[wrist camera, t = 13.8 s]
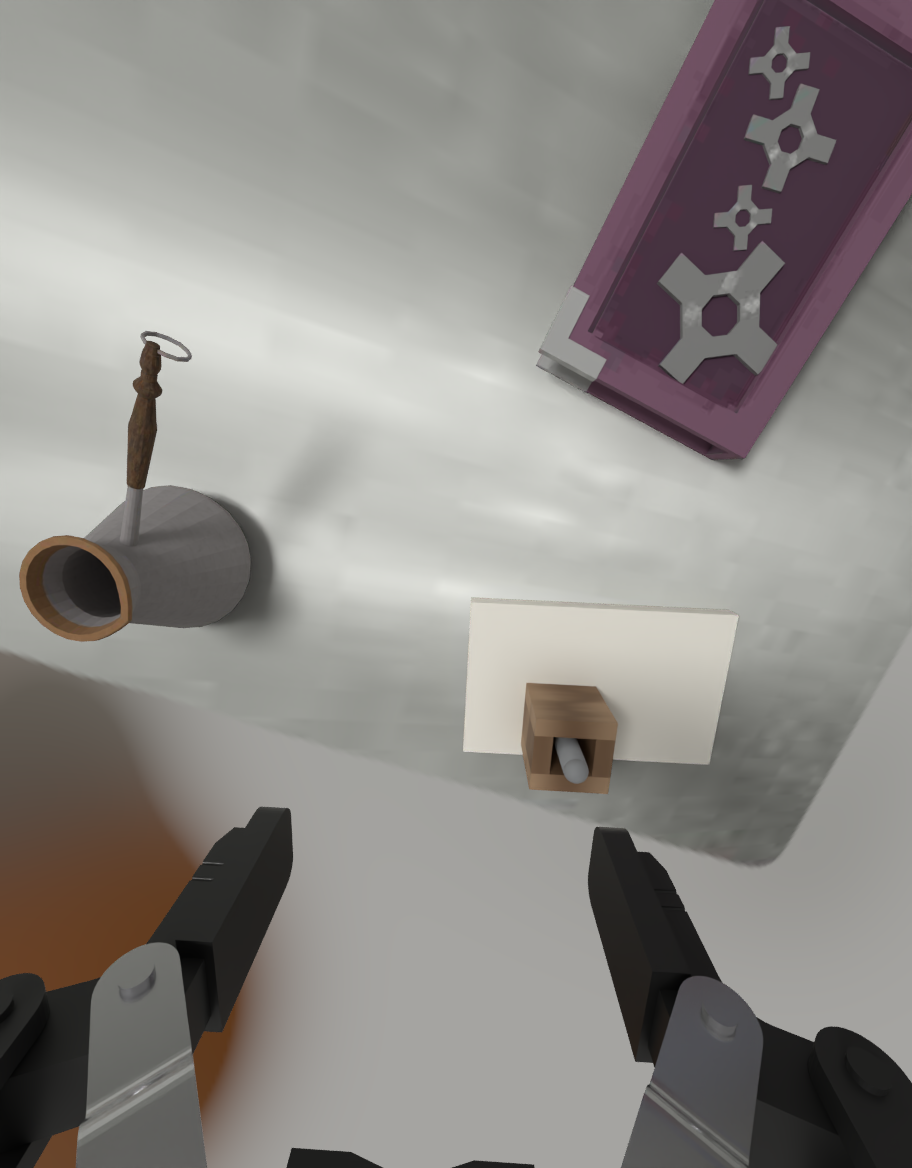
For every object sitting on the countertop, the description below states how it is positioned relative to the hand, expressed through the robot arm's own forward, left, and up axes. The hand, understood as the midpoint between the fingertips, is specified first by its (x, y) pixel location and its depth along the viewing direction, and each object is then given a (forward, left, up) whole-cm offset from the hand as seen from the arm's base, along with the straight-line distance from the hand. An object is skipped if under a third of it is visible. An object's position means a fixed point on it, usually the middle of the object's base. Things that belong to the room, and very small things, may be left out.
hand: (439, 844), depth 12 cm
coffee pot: (+20, -6, -28) cm, 35 cm away
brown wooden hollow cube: (-9, +11, -27) cm, 30 cm away
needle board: (-12, +8, -28) cm, 32 cm away
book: (-17, -26, -29) cm, 42 cm away
